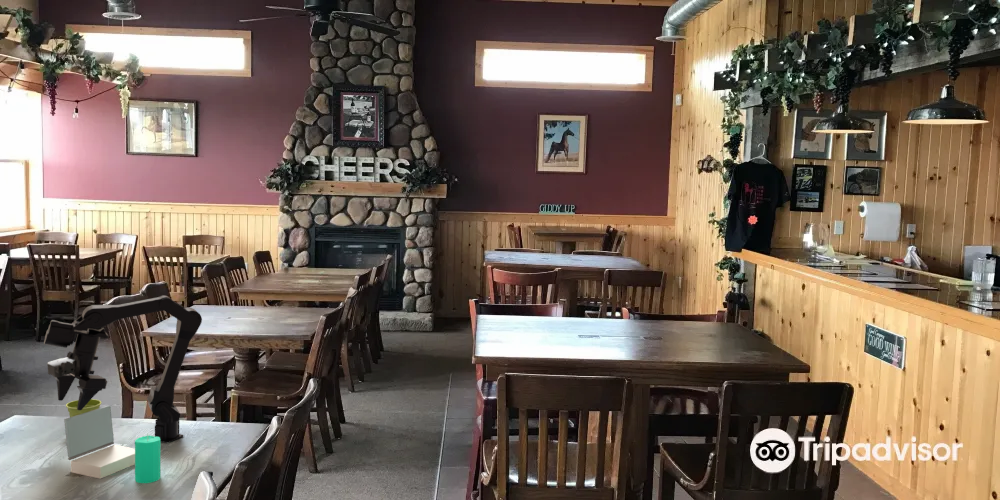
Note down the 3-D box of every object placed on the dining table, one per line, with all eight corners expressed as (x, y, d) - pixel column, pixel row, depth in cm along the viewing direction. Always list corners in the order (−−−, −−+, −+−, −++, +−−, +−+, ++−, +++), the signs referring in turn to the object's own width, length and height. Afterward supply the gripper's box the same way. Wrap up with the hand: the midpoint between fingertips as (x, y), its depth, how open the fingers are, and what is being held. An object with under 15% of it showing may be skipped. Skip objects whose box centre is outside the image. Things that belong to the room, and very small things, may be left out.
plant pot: (108, 429, 234) (108, 401, 234) (82, 438, 226) (82, 409, 225) (85, 425, 237) (84, 397, 237) (58, 433, 229) (58, 405, 228)
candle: (150, 484, 194) (150, 438, 193) (129, 481, 196) (129, 435, 195) (165, 475, 200) (165, 430, 199) (145, 473, 201) (145, 428, 200)
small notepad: (114, 455, 213) (114, 444, 213) (142, 461, 210) (142, 450, 210) (71, 472, 200) (71, 461, 200) (100, 478, 197) (100, 467, 197)
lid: (114, 444, 213) (111, 444, 213) (110, 405, 213) (108, 405, 213) (70, 460, 200) (68, 460, 200) (66, 419, 199) (64, 419, 200)
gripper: (37, 340, 212) (22, 395, 212) (76, 358, 203) (60, 416, 202) (76, 342, 222) (61, 395, 221) (114, 359, 213) (99, 414, 212)
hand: (69, 405), depth 214 cm, fingers open, 9 cm apart
